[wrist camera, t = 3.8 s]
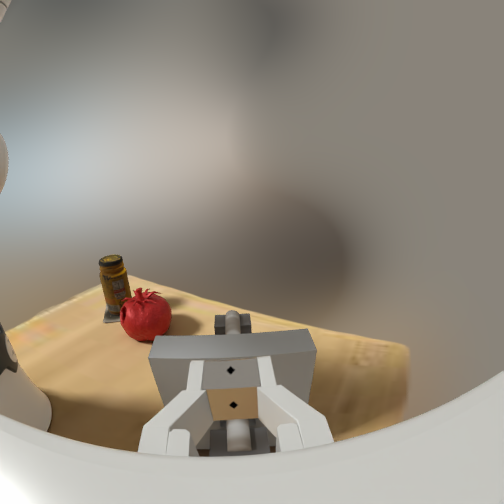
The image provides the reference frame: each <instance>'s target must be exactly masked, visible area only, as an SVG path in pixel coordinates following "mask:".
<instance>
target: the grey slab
mask: <svg viewBox="0 0 504 504" xmlns="http://www.w3.org/2000/svg"><path fill="white" fill-rule="evenodd" d="M316 353H317V349H316V347H315V345H314V342H313V340H312V338H311V335H310V333H309V331H308V329H299V330H288V331H276V332H263V333H248V334H228V335H197V336H155V339H154V342H153V345H152V348H151V351H150V354H149V357H148V359H149V362H150V366H151V369H152V372H153V375H154V378H155V381H156V384H157V387H158V390H159V393H160V395H161V398H162V401H163V404H164V406H166V405H167V404H168V403H169V402H171V401H172V400H173V399H174V398H175V397H176V396H177V395H178V394H179V393H180V392H181V391H182V390H186V389H187V382H188V375H189V368H190V362H191V361H192V360H204V361H205V360H230V359H244V358H255V357H256V358H257V357H263V356H270V357H271V360H272V364H273V369H274V373H275V378H276V382H277V385H282V386H284V387H285V388H286V389H287V390H289V391H290V392H292V393H293V394H294V395H296V396H297V397H298V398H300V399H301V400H302V401H304V402H305V403H307V404H308V401H309V395H310V390H311V384H312V378H313V372H314V366H315V359H316ZM262 427H266V426H265V425H264V424H263V423H262V422H261V421H260V420H259V418H253V419H249V428H262ZM210 430H227V420H218V421H213V423H212V425H211V426H210V427H209V429H208V430H207V432H206V433H205V434H204V436H203V437H202V438H201V440H200V441H199V442H198V444H197V445H196V446H195V447H196V449H210ZM267 434H268V441H269V446H276V437H275V436H274V435H273V434H272V433H271V432H270V431H269V430H268V429H267Z"/></svg>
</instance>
